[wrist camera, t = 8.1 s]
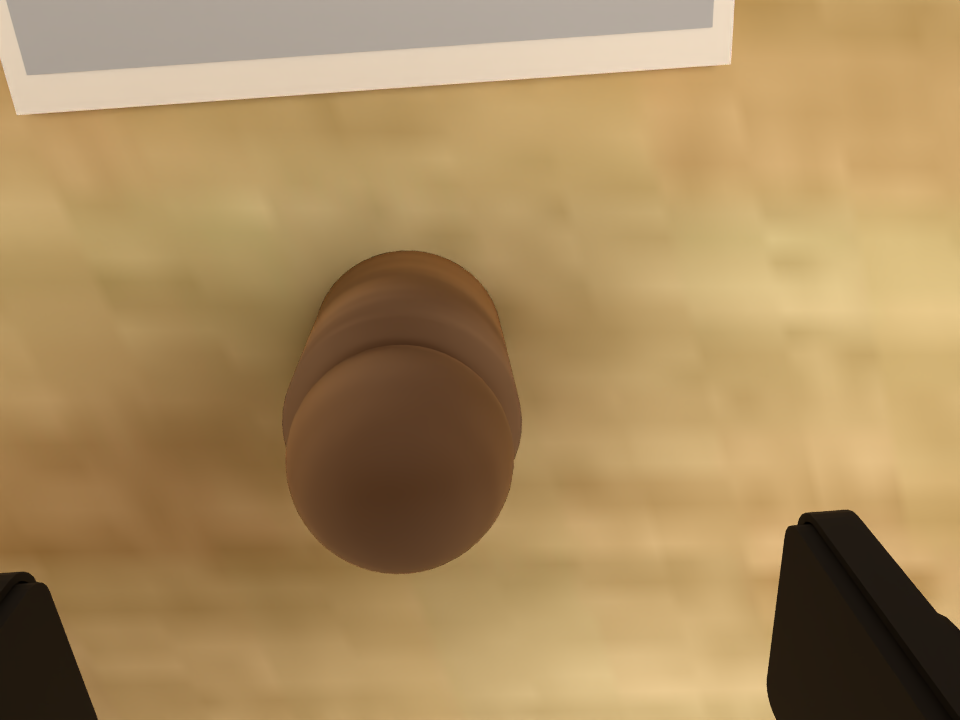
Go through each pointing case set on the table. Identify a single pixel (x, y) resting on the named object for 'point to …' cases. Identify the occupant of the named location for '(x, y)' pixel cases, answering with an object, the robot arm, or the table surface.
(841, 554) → the robot arm
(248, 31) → the game board
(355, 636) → the table surface
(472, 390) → the walnut pawn
